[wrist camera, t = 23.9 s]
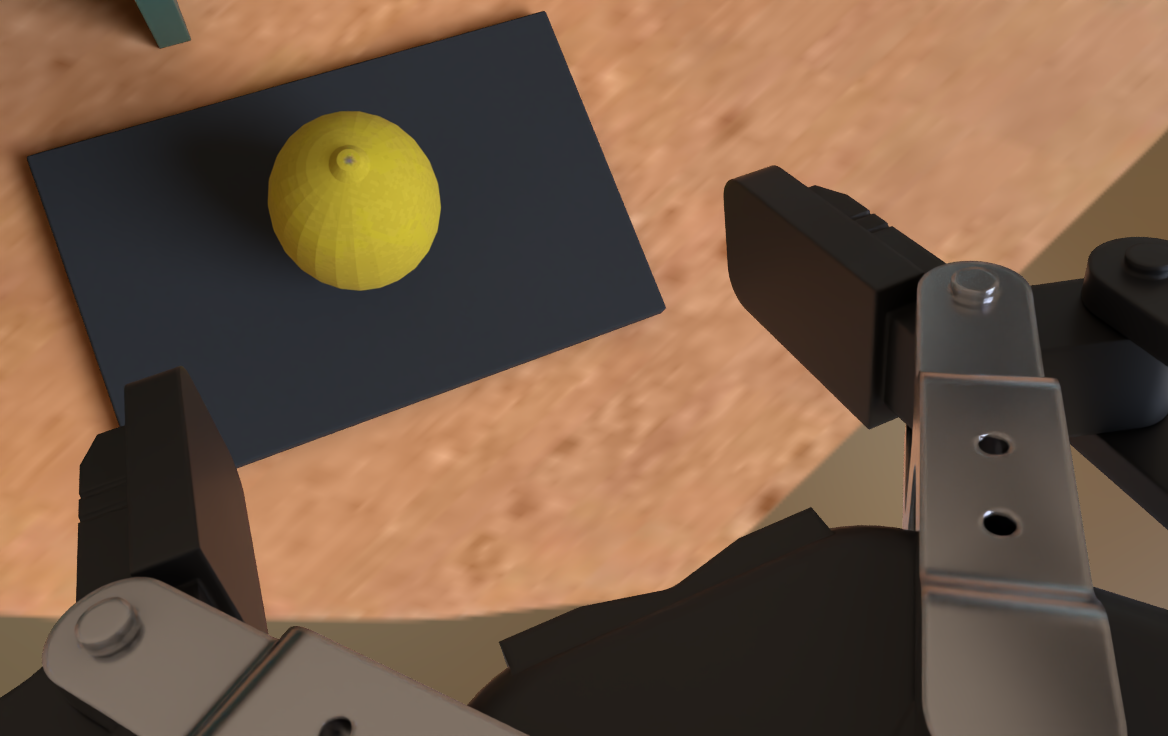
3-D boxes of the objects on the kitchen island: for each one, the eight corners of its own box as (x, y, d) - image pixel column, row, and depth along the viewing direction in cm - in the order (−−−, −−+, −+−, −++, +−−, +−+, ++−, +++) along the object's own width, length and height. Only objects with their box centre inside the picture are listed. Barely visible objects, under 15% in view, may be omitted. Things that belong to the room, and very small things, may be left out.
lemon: (282, 310, 35) (245, 247, 27) (288, 164, 36) (254, 63, 28) (436, 314, 36) (443, 254, 28) (438, 172, 37) (446, 76, 29)
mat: (542, 19, 40) (545, 9, 39) (662, 313, 38) (667, 308, 38) (33, 164, 35) (25, 155, 34) (150, 500, 34) (144, 499, 33)
